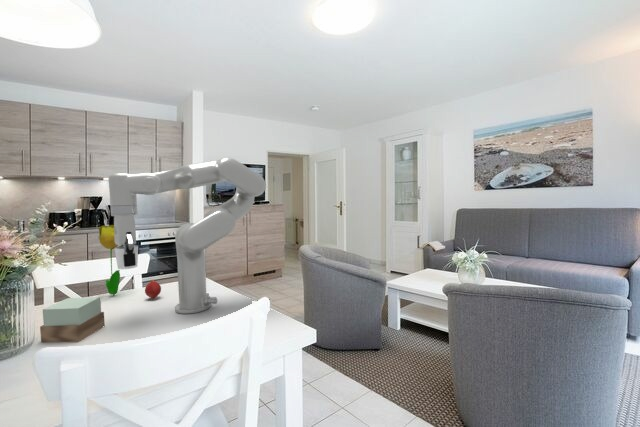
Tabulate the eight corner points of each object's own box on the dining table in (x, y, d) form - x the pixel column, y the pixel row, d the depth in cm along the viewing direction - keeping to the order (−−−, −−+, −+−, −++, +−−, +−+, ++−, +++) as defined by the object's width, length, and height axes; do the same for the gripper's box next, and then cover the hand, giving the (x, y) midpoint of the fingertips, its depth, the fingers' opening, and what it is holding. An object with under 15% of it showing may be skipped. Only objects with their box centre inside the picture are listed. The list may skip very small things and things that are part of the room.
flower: (96, 298, 131) (92, 226, 129) (113, 292, 139) (109, 224, 137) (114, 299, 129) (109, 226, 127) (130, 293, 137) (126, 224, 135)
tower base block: (104, 326, 103) (103, 311, 103) (78, 342, 92) (77, 326, 92) (71, 327, 103) (70, 312, 103) (41, 343, 92) (40, 326, 92)
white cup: (111, 268, 105) (109, 247, 104) (131, 264, 111) (130, 244, 110) (123, 270, 102) (122, 249, 101) (144, 265, 108) (142, 245, 107)
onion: (143, 298, 130) (142, 279, 129) (159, 295, 133) (158, 276, 133) (147, 302, 125) (146, 282, 125) (163, 298, 129) (162, 279, 129)
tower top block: (101, 312, 103) (100, 297, 102) (79, 325, 93) (78, 308, 92) (68, 313, 102) (67, 298, 102) (43, 326, 92) (42, 309, 92)
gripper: (106, 210, 109) (110, 262, 110) (115, 212, 96) (119, 270, 97) (131, 209, 114) (134, 258, 115) (143, 211, 101) (146, 266, 102)
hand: (127, 263), depth 106 cm, fingers closed on white cup, 6 cm apart
